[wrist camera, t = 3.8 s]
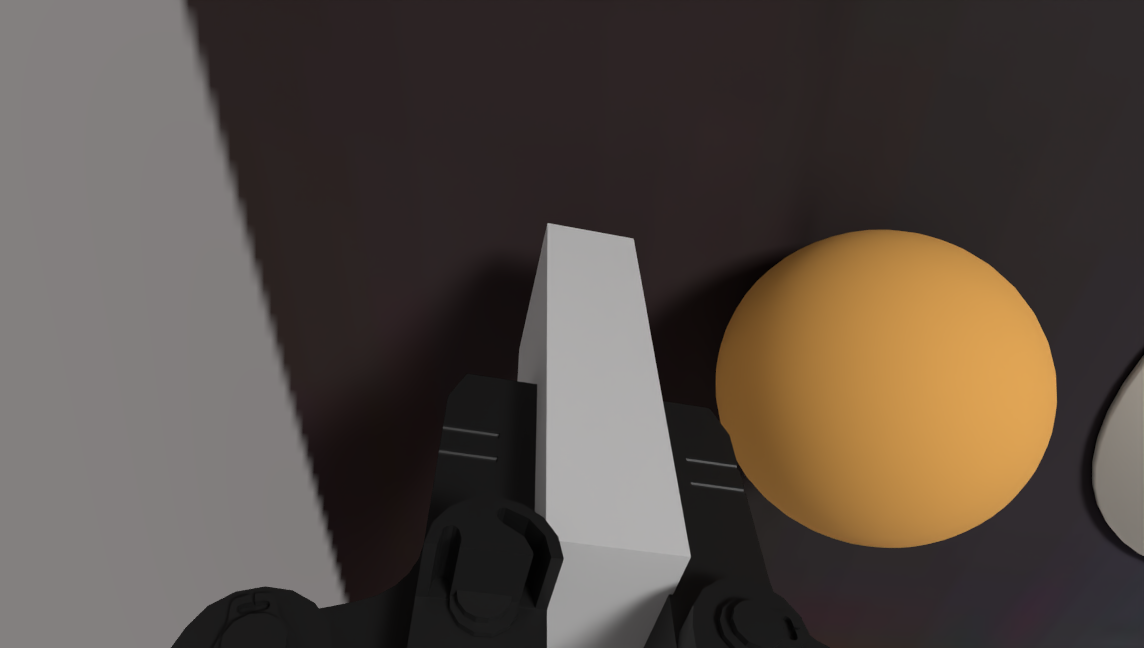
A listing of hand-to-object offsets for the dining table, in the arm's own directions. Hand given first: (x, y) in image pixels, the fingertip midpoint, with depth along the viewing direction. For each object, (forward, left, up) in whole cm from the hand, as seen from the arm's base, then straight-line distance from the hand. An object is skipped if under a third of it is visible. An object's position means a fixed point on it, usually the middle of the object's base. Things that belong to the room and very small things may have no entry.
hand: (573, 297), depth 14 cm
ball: (-5, 0, +1) cm, 6 cm away
